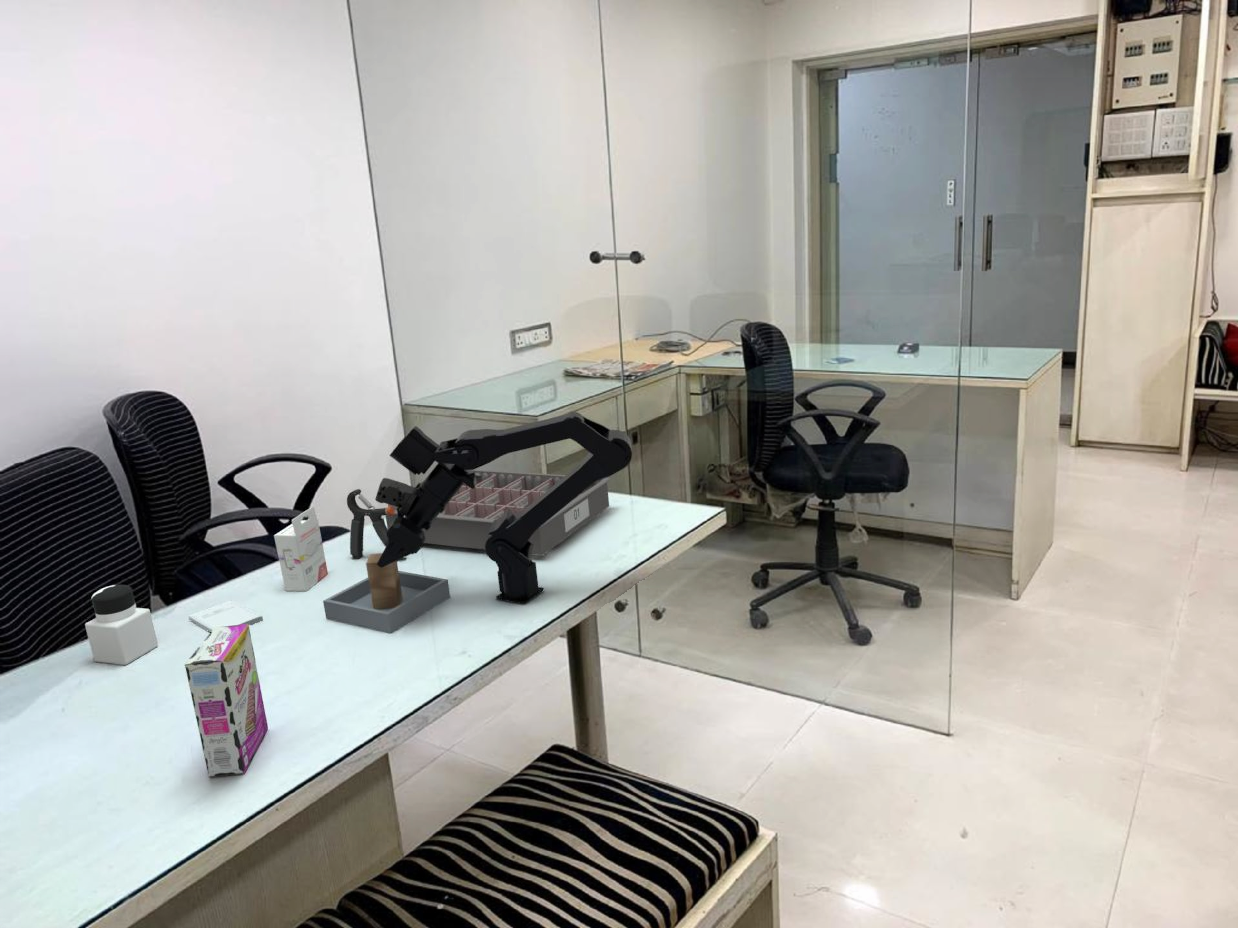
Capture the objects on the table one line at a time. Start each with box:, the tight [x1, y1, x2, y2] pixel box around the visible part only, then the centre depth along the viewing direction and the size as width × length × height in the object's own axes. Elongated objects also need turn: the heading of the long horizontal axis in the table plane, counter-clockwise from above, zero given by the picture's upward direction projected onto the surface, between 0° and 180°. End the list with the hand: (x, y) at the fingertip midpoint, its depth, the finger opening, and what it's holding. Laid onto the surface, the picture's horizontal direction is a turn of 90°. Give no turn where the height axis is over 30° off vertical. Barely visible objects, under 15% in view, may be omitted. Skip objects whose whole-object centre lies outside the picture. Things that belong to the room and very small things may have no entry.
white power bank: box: [188, 600, 264, 633], centre depth 166 cm, size 2×8×12 cm
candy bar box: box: [184, 624, 269, 778], centre depth 121 cm, size 11×5×16 cm, turn 5°
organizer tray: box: [384, 469, 612, 556], centre depth 202 cm, size 32×40×10 cm
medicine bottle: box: [84, 584, 159, 666], centre depth 154 cm, size 7×7×12 cm
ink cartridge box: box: [273, 506, 329, 592], centre depth 179 cm, size 9×5×15 cm, turn 168°
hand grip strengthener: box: [346, 488, 403, 560], centre depth 188 cm, size 2×12×15 cm, turn 73°
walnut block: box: [365, 552, 403, 610], centre depth 164 cm, size 4×4×9 cm
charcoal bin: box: [322, 570, 451, 634], centre depth 165 cm, size 16×16×4 cm
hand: (383, 556), depth 163 cm, fingers open, 9 cm apart
